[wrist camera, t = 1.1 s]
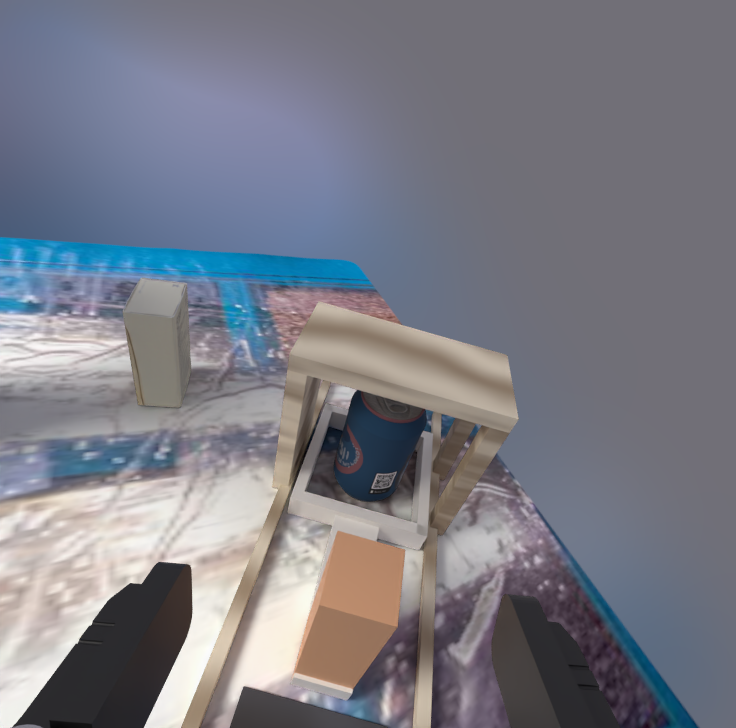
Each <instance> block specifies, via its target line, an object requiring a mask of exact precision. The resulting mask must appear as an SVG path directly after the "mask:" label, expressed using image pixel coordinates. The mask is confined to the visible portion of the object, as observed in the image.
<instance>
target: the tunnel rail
mask: <svg viewBox="0 0 736 728" xmlns="http://www.w3.org/2000/svg"><path fill="white" fill-rule="evenodd" d="M321 379H322V380H323V382H322V384H321V386H320V381H321ZM331 382H332V383H336V384H339V385H343V386H346V387H350V388H353V389H357V390H360V391H364V392H367V393H371V394H374V395H378V396H381V397H385V398H388V399H392V400H395V401H399V402H402V403H406V404H409V405H413V406H416V407H420V408H423V409H427V410H430V411H434V412H433V414H432V423H431V433H433V443H432V461H431V479H430V497H429V515H428V533H427V538H426V540H425V541H424V553H423V569H422V585H421V602H420V618H419V634H418V651H417V667H416V683H415V699H414V716H413V728H431V705H432V676H433V647H434V618H435V589H436V560H437V534H439V535H443V534H444V532H445V531H446V529H447V528H448V526H449V525H450V523H451V522H452V520H453V519H454V517H455V516H456V514H457V512H458V511H459V509H460V508H461V506H462V505H463V503H464V502H465V500H466V499H467V497H468V496H469V494H470V493H471V491H472V490H473V488H474V487H475V485H476V484H477V482H478V481H479V479H480V477H481V476H482V474H483V473H484V471H485V470H486V468H487V467H488V465H489V464H490V462H491V461H492V459H493V458H494V456H495V455H496V453H497V451H498V450H499V449H500V447H501V446H502V444H503V442H504V441H505V439H506V438H507V436H508V435H509V433H510V432H511V430H512V429H513V427H514V426H515V424H516V423H517V421H518V420H519V418H518V414H517V407H516V402H515V396H514V391H513V386H512V380H511V374H510V369H509V363H508V357H507V355H505V354H501V353H497V352H494V351H490V350H487V349H484V348H480V347H477V346H473V345H469V344H466V343H463V342H459V341H456V340H452V339H449V338H445V337H441V336H438V335H435V334H431V333H428V332H424V331H421V330H417V329H413V328H410V327H406V326H403V325H400V324H396V323H393V322H389V321H386V320H382V319H379V318H375V317H372V316H368V315H365V314H361V313H358V312H354V311H351V310H347V309H344V308H340V307H337V306H333V305H330V304H326V303H323V302H318V304H317V306H316V307H315V309H314V311H313V313H312V315H311V316H310V318H309V320H308V322H307V323H306V325H305V327H304V329H303V331H302V332H301V334H300V336H299V338H298V340H297V341H296V343H295V345H294V347H293V348H292V350H291V352H290V354H289V361H288V369H287V377H286V385H285V392H284V400H283V408H282V415H281V423H280V431H279V439H278V446H277V454H276V462H275V470H274V477H273V485H272V487H274V488H277V489H278V492H277V494H276V497H275V499H274V501H273V504H272V506H271V509H270V511H269V514H268V516H267V519H266V521H265V523H264V526H263V528H262V531H261V533H260V536H259V538H258V541H257V543H256V546H255V548H254V550H253V553H252V555H251V558H250V560H249V563H248V565H247V568H246V570H245V572H244V575H243V577H242V580H241V582H240V585H239V587H238V590H237V592H236V594H235V597H234V599H233V602H232V604H231V607H230V609H229V612H228V614H227V616H226V619H225V621H224V624H223V626H222V629H221V631H220V634H219V636H218V638H217V641H216V643H215V646H214V648H213V651H212V653H211V656H210V658H209V661H208V663H207V665H206V668H205V670H204V673H203V675H202V678H201V680H200V683H199V685H198V687H197V690H196V692H195V695H194V697H193V700H192V702H191V705H190V707H189V709H188V712H187V714H186V717H185V719H184V722H183V724H182V727H181V728H200V727H201V724H202V722H203V719H204V717H205V714H206V711H207V709H208V706H209V703H210V701H211V698H212V695H213V693H214V690H215V688H216V685H217V682H218V680H219V677H220V674H221V672H222V669H223V667H224V664H225V661H226V659H227V656H228V653H229V651H230V648H231V645H232V643H233V640H234V638H235V635H236V632H237V630H238V627H239V624H240V622H241V619H242V617H243V614H244V611H245V609H246V606H247V603H248V601H249V598H250V595H251V593H252V590H253V588H254V585H255V582H256V580H257V577H258V574H259V572H260V569H261V566H262V564H263V561H264V559H265V556H266V553H267V551H268V548H269V545H270V543H271V540H272V538H273V535H274V532H275V530H276V527H277V524H278V522H279V519H280V516H281V514H282V511H283V509H284V506H285V503H286V501H287V498H288V495H289V493H290V490H291V488H292V485H293V482H294V480H295V477H296V474H297V472H298V469H299V466H300V464H301V461H302V459H303V456H304V453H305V451H306V448H307V445H308V443H309V440H310V438H311V435H312V432H313V430H314V427H315V424H316V422H317V419H318V416H319V414H320V411H321V409H322V406H323V403H324V401H325V398H326V395H327V393H328V390H329V387H330V384H331ZM319 386H320V389H319ZM442 414H444V415H448V416H451V417H455V420H454V422H453V424H452V426H451V428H450V430H449V432H448V434H447V436H446V438H445V440H444V442H443V444H442V445H441V447H440V444H441V415H442ZM475 424H479V425H482V426H481V428H480V429H479V431H478V433H477V434H476V436H475V438H474V440H473V441H472V443H471V445H470V446H469V448H468V450H467V452H466V453H465V455H464V457H463V458H462V460H461V462H460V464H459V465H458V467H457V469H456V470H455V472H454V474H453V476H452V477H451V479H450V481H449V482H448V484H447V486H446V488H445V489H444V491H443V493H442V494H441V496H440V498H439V479H441V480H444V479H445V477H446V475H447V474H448V472H449V470H450V468H451V467H452V465H453V463H454V461H455V460H456V458H457V456H458V454H459V453H460V451H461V449H462V447H463V445H464V444H465V442H466V440H467V438H468V437H469V435H470V433H471V431H472V430H473V428H474V426H475ZM230 728H388V727H386V726H382V725H378V724H375V723H371V722H368V721H364V720H361V719H357V718H354V717H350V716H347V715H343V714H340V713H336V712H333V711H329V710H326V709H322V708H318V707H315V706H311V705H308V704H304V703H301V702H297V701H294V700H290V699H287V698H283V697H280V696H276V695H273V694H269V693H266V692H262V691H259V690H255V689H251V688H248V687H243V690H242V693H241V696H240V699H239V702H238V705H237V708H236V711H235V714H234V717H233V720H232V723H231V726H230Z"/></svg>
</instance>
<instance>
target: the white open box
mask: <svg viewBox="0 0 736 728" xmlns="http://www.w3.org/2000/svg"><path fill="white" fill-rule="evenodd" d="M348 410H349V409H345V408H342V407H338V406H335V405H331V404H328V403H325V406H324V409H323V411H322V414H321V417H320V419H319V422H318V425H317V427H316V430H315V433H314V435H313V438H312V441H311V443H310V446H309V449H308V451H307V454H306V457H305V459H304V462H303V465H302V467H301V470H300V473H299V475H298V478H297V481H296V483H295V486H294V489H293V491H292V494H291V497H290V501H289V507H288V512H287V513H289V514H293V515H296V516H300V517H303V518H307V519H310V520H314V521H317V522H321V523H324V524H328V525H332V528H331V532H330V536H329V540H328V543H327V547H326V551H325V555H324V559H323V563H322V566H321V570H320V574H319V578H318V582H317V586H316V589H315V593H314V597H313V601H312V605H311V608H310V612H309V616H308V620H307V624H306V628H305V631H304V635H303V639H302V643H301V647H300V651H299V654H298V658H297V662H296V666H295V670H294V674H293V677H292V681H291V685H293V686H297V687H300V688H304V689H307V690H311V691H314V692H318V693H321V694H325V695H329V696H332V697H336V698H339V699H343V700H346V701H347V700H348V699H349V697H350V696H351V695H352V692H353V688H354V687H355V686H356V684H357V683H358V681H359V680H360V679H361V677H362V676H363V674H364V673H365V672H366V670H367V669H368V667H369V666H370V665H371V663H372V662H373V661H374V659H375V658H376V656H377V655H378V654H379V652H380V651H381V649H382V648H383V647H384V645H385V644H386V642H387V641H388V640H389V638H390V637H391V636H392V634H393V633H394V631H395V630H396V629H397V627H398V618H399V607H400V597H401V587H402V577H403V567H404V557H405V550H404V549H401V548H397V547H394V546H390V545H387V544H383V543H380V542H377V539H381V540H384V541H388V542H391V543H395V544H398V545H402V546H405V547H409V548H412V549H416V550H419V549H420V548H421V546H422V545H423V543H424V541H425V540H426V538H427V533H428V515H429V497H430V479H431V461H432V443H433V433H430V432H426V431H423V432H422V434H421V436H420V439H419V441H418V443H417V445H416V448H415V450H414V451H416V452H417V460H416V471H415V482H414V493H413V503H412V514H411V521H407V520H404V519H400V518H397V517H393V516H390V515H386V514H383V513H379V512H376V511H372V510H369V509H365V508H362V507H358V506H355V505H351V504H348V503H344V502H340V501H337V500H333V499H330V498H326V497H323V496H319V495H316V494H312V493H309V492H306V491H307V488H308V485H309V482H310V479H311V476H312V473H313V470H314V468H315V465H316V462H317V459H318V456H319V453H320V450H321V447H322V444H323V441H324V438H325V435H326V432H327V430H328V427H332V428H335V429H339V430H342V431H343V428H344V425H345V421H346V418H347V414H348Z"/></svg>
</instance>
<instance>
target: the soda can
mask: <svg viewBox="0 0 736 728" xmlns="http://www.w3.org/2000/svg"><path fill="white" fill-rule="evenodd" d="M426 420H427V417H426V411H425V409H423V408H420V407H416V406H413V405H409V404H406V403H402V402H399V401H395V400H392V399H388V398H385V397H381V396H378V395H374V394H371V393H367V392H364V391H360V390H357V391H356V392H355V393H354V395H353V397H352V400H351V403H350V407H349V410H348V414H347V418H346V421H345V425H344V428H343V432H342V436H341V439H340V443H339V446H338V450H337V454H336V457H335V461H334V474H335V477H336V479H337V482H338V483H339V485H340V486H341V487H342V489H343V490H344V491H345V492H346V493H347V494H348V495H349V496H351V497H353V498H354V499H357V500H360V501H365V502H371V501H378V500H382V499H384V498H386V497H388V496H390V495H391V494H392V493H393V492H394V491H395V490H396V489H397V487H398V485H399V483H400V481H401V478H402V476H403V474H404V472H405V470H406V467H407V465H408V463H409V461H410V459H411V456H412V454H413V452H414V450H415V448H416V445H417V443H418V441H419V439H420V436H421V434H422V432H423V430H424V428H425V425H426Z"/></svg>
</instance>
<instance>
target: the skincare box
mask: <svg viewBox="0 0 736 728" xmlns="http://www.w3.org/2000/svg"><path fill="white" fill-rule="evenodd" d="M123 317H124V323H125V329H126V335H127V341H128V347H129V353H130V360H131V366H132V372H133V378H134V384H135V390H136V396H137V401H138V405H144V406H159V407H175V408H179V407H181V404H182V401H183V398H184V395H185V392H186V388H187V385H188V381H189V378H190V374H191V359H190V337H189V317H188V296H187V283H180V282H173V281H165V280H158V279H149V278H141V279H140V280H139V282H138V283H137V285H136V286H135V288H134V290H133V292H132V294H131V296H130V297H129V299H128V301H127V303H126V305H125V307H124V309H123Z"/></svg>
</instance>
